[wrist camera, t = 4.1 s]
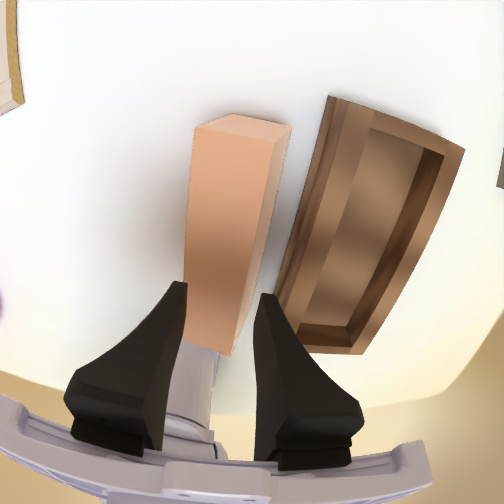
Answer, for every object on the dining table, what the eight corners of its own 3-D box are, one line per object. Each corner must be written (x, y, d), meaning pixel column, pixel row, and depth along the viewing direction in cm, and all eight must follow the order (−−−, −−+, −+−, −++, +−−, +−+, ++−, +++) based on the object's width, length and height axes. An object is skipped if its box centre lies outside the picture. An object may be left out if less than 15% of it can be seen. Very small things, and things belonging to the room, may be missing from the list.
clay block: (250, 308, 24) (230, 356, 20) (208, 294, 24) (182, 339, 20) (292, 126, 16) (274, 143, 12) (232, 113, 16) (195, 126, 12)
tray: (355, 327, 28) (364, 354, 25) (265, 318, 27) (267, 349, 24) (440, 136, 18) (467, 150, 15) (328, 95, 17) (344, 100, 14)
